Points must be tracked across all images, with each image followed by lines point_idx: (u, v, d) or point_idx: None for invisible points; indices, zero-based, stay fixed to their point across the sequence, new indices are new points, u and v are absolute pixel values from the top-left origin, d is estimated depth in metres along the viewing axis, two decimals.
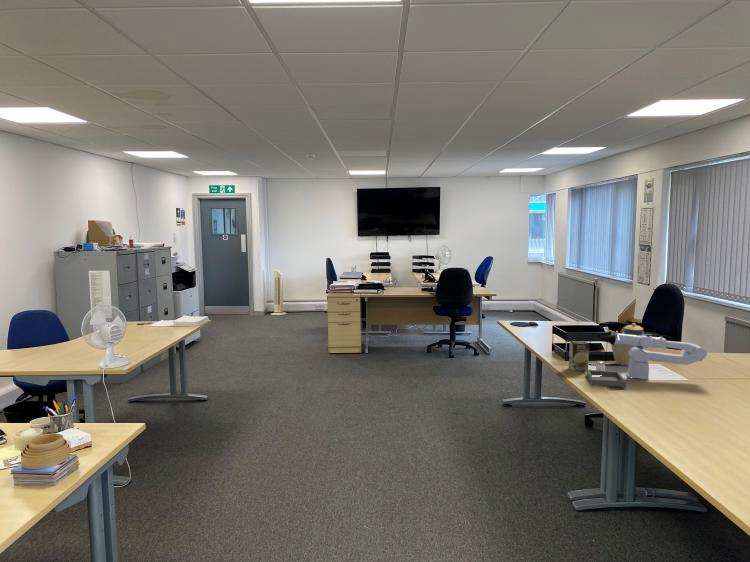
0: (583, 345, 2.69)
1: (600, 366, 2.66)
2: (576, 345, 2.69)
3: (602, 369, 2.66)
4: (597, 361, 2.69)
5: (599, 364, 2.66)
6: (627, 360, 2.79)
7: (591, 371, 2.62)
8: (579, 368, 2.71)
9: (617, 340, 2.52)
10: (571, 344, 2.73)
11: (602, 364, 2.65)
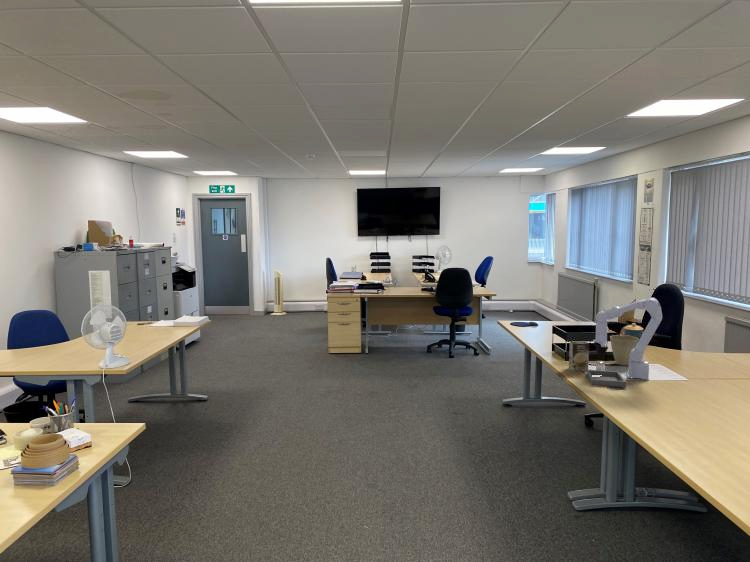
0: (583, 345, 2.69)
1: (600, 366, 2.66)
2: (576, 345, 2.69)
3: (602, 369, 2.66)
4: (597, 361, 2.69)
5: (599, 364, 2.66)
6: (627, 360, 2.79)
7: (591, 371, 2.62)
8: (579, 368, 2.71)
9: (602, 345, 2.59)
10: (571, 344, 2.73)
11: (602, 364, 2.65)
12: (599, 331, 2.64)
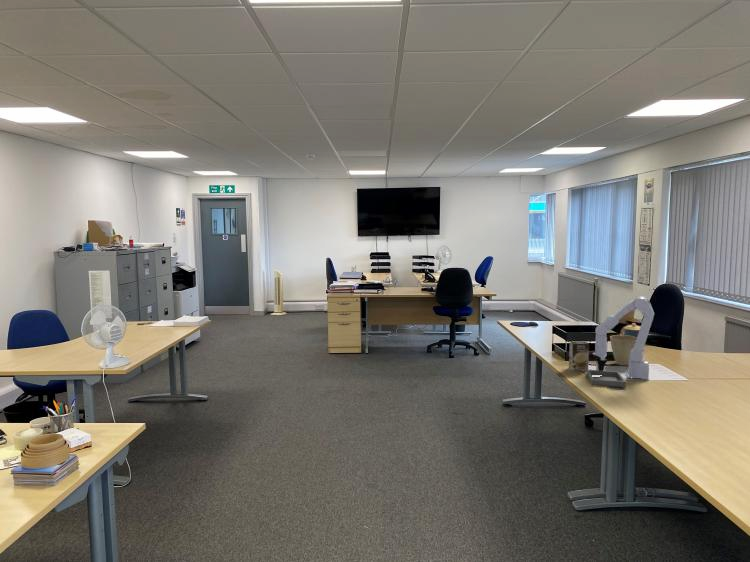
0: (583, 345, 2.69)
1: None
2: (576, 345, 2.70)
3: None
4: None
5: None
6: (627, 360, 2.79)
7: (591, 371, 2.62)
8: (579, 368, 2.71)
9: (602, 359, 2.60)
10: (571, 344, 2.73)
11: None
12: (599, 344, 2.64)
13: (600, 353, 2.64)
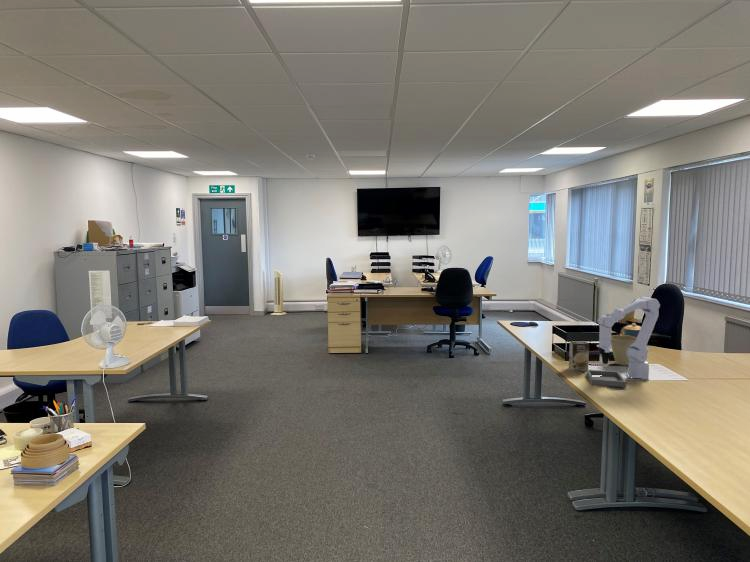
0: (583, 345, 2.69)
1: None
2: (576, 345, 2.70)
3: None
4: None
5: None
6: (627, 360, 2.79)
7: (591, 371, 2.62)
8: (579, 368, 2.71)
9: (606, 351, 2.48)
10: (571, 344, 2.73)
11: None
12: (607, 336, 2.52)
13: (604, 345, 2.52)
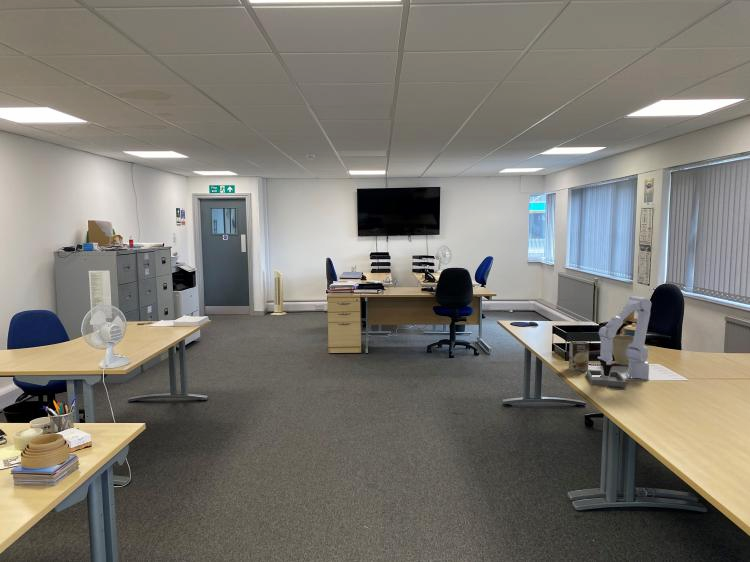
0: (583, 345, 2.69)
1: None
2: (576, 345, 2.69)
3: None
4: None
5: None
6: (627, 360, 2.79)
7: (591, 371, 2.62)
8: (579, 368, 2.71)
9: (607, 363, 2.45)
10: (571, 344, 2.73)
11: None
12: (609, 348, 2.48)
13: (606, 357, 2.49)
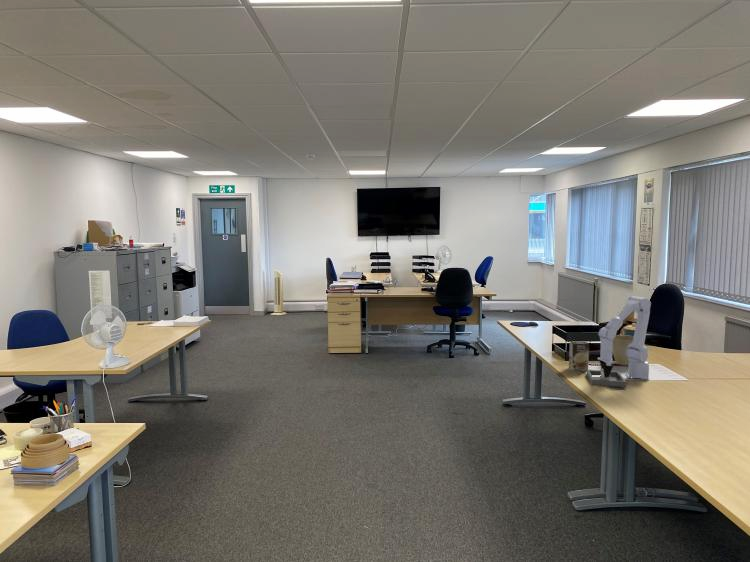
0: (583, 345, 2.69)
1: None
2: (576, 345, 2.69)
3: (607, 377, 2.50)
4: (602, 368, 2.53)
5: None
6: (627, 360, 2.79)
7: (591, 371, 2.62)
8: (579, 368, 2.71)
9: (607, 364, 2.45)
10: (571, 344, 2.73)
11: None
12: (609, 349, 2.48)
13: (605, 358, 2.49)
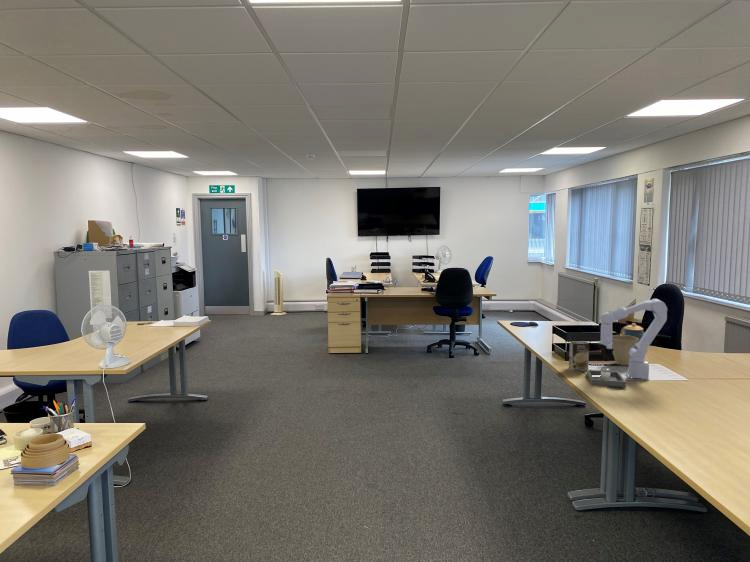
0: (583, 345, 2.69)
1: (605, 374, 2.50)
2: (576, 345, 2.69)
3: (607, 377, 2.50)
4: (602, 368, 2.53)
5: (604, 371, 2.50)
6: (627, 360, 2.79)
7: (591, 371, 2.62)
8: (579, 368, 2.71)
9: (608, 347, 2.54)
10: (571, 344, 2.73)
11: (607, 371, 2.50)
12: (606, 333, 2.58)
13: (606, 341, 2.58)
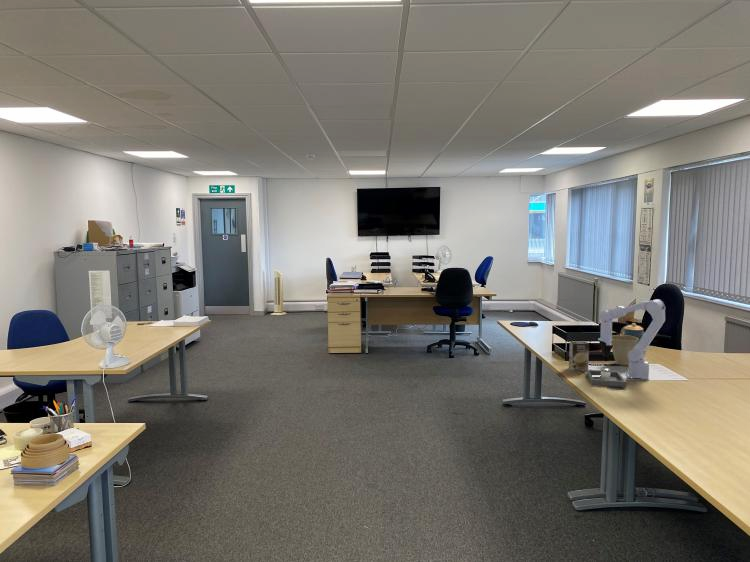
0: (583, 345, 2.69)
1: (605, 374, 2.50)
2: (576, 345, 2.69)
3: (607, 377, 2.50)
4: (602, 368, 2.53)
5: (604, 371, 2.50)
6: (627, 360, 2.79)
7: (591, 371, 2.62)
8: (579, 368, 2.71)
9: (607, 344, 2.61)
10: (571, 344, 2.73)
11: (607, 371, 2.50)
12: (603, 330, 2.66)
13: (605, 338, 2.66)
